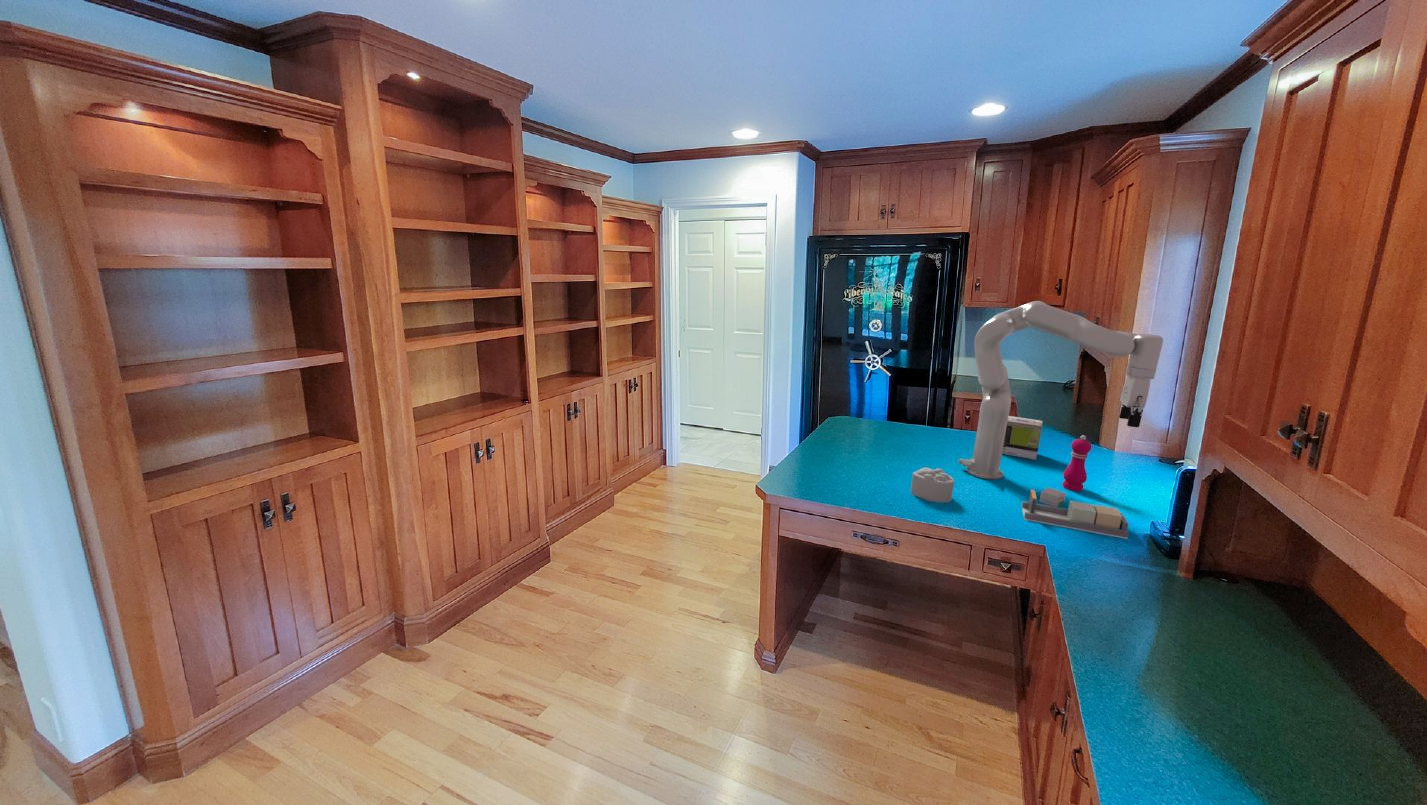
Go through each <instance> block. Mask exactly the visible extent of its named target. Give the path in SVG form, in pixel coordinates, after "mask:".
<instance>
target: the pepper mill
mask: <svg viewBox="0 0 1427 805" xmlns="http://www.w3.org/2000/svg"><path fill="white" fill-rule="evenodd" d="M1079 437H1080V438H1077V439H1074V440H1073V441H1072V443H1071V445H1070V447H1071V449H1072V451H1071V453H1070V454H1071V459H1070V462H1069V464H1068V465H1067V467H1066V468H1065V469H1064V471H1063V474H1062V477H1063V479H1064V480H1063V482H1062V487H1063V488H1064V489H1066V490H1068V491H1069V490H1070V491H1073V492H1082V491H1083V489H1084V486H1085V485H1084V483H1086V482H1087V478H1088V475H1087V470H1086V466H1085V464H1086V460H1087V459H1088V456H1089V453H1090V452H1091V451H1092V444H1091V442H1090V441H1088V439H1087V436H1086V435H1084V434H1082V435H1081V436H1079Z"/></svg>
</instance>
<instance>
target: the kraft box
mask: <svg viewBox="0 0 1427 805" xmlns="http://www.w3.org/2000/svg"><path fill="white" fill-rule="evenodd" d="M1093 507H1094V509H1095V511H1096V516H1095V520H1094V525H1100V526H1105V527H1111V528H1116V529H1119V527H1120V523H1121V519H1122V516H1121V514H1120V513H1121V512H1120V510H1119V509H1118V508H1115V507H1110V506H1105V505H1104V506H1103V505H1099V504H1093Z"/></svg>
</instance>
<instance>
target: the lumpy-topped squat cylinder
mask: <svg viewBox="0 0 1427 805" xmlns="http://www.w3.org/2000/svg"><path fill="white" fill-rule="evenodd" d="M911 479H912V480H911V486H910V493H911V494H912V495H913V496H916V497H918V498H920V499H923V500H925V501H929V502H934V501H935V502H934V503H950V502H952V500H953V499H952V498H953V492H954V485H955V480H954V478H953V477H952V476H951V475H949V474H948V473H945V470H943V469H942V468H936V469H933V468H930V467H923V468H920V469H919V470H916V471H914V472H912V478H911Z"/></svg>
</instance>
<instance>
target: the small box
mask: <svg viewBox="0 0 1427 805" xmlns="http://www.w3.org/2000/svg"><path fill="white" fill-rule="evenodd" d="M1066 495H1067V493H1066V492H1063V491H1061V490H1058V489H1055V488H1053V487H1048V488H1045V489H1044V490H1042V491H1040V497H1039V502H1040V503H1043V504H1044V505H1047V506H1052V507H1058V508H1059V507H1060V506H1062V505H1064V504H1065V500H1066V497H1067V496H1066Z"/></svg>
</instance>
